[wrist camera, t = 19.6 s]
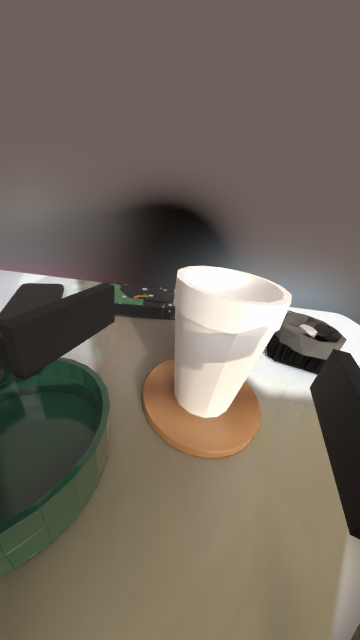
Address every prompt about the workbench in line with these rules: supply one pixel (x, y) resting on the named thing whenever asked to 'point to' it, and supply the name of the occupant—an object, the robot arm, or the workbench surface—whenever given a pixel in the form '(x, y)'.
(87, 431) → the pot
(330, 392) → the robot arm
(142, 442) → the workbench surface
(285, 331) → the cpu cooler
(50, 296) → the phone
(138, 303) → the disk drive
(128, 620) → the workbench surface
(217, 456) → the pot holder
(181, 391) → the foam cup
